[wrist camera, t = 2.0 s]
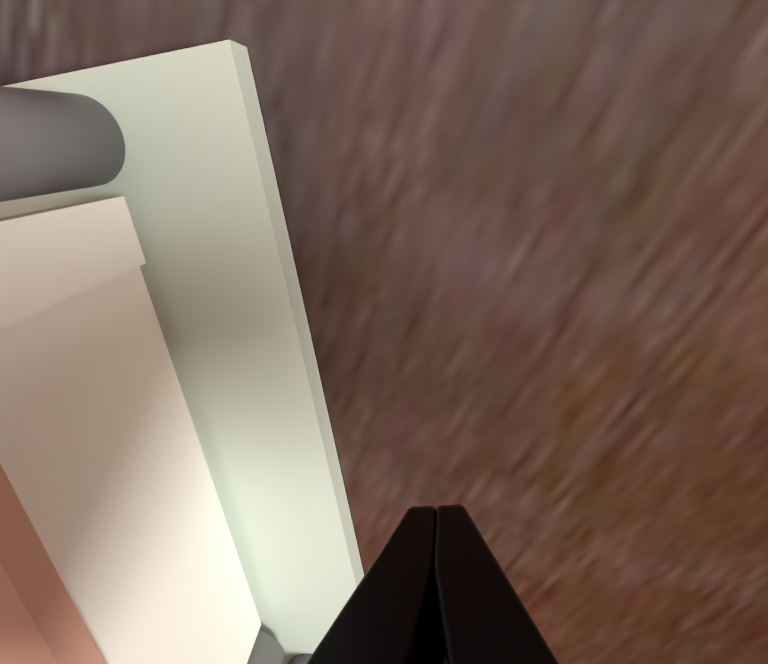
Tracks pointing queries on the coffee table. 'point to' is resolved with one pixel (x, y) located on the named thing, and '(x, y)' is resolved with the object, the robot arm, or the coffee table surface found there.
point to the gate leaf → (104, 464)
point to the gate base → (209, 298)
